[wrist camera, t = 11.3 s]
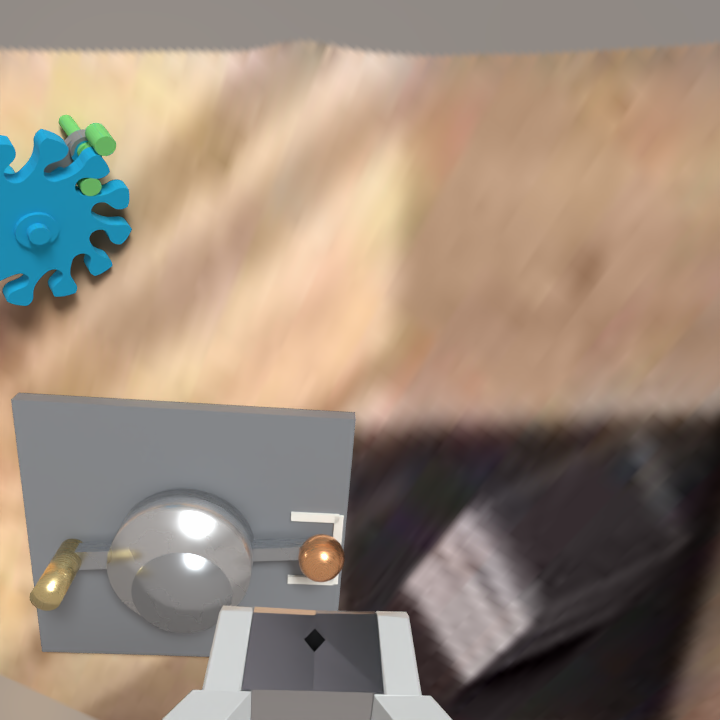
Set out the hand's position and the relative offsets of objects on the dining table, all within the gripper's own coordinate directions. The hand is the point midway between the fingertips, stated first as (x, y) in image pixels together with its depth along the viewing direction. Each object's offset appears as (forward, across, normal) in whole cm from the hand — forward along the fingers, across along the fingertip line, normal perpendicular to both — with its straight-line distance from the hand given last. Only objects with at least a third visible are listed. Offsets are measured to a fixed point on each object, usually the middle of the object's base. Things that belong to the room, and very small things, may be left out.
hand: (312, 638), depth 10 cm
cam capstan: (+28, +7, +20) cm, 35 cm away
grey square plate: (+29, +8, +20) cm, 36 cm away
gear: (+29, +15, -2) cm, 33 cm away
